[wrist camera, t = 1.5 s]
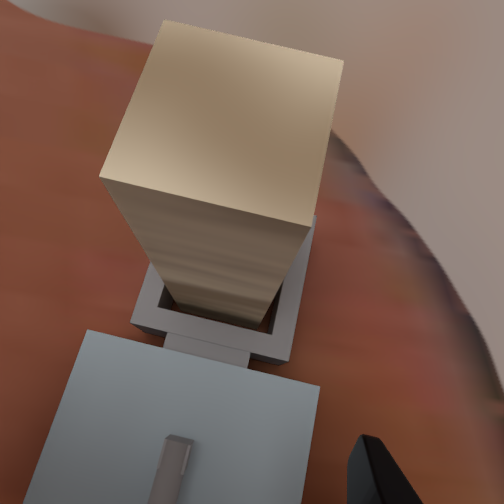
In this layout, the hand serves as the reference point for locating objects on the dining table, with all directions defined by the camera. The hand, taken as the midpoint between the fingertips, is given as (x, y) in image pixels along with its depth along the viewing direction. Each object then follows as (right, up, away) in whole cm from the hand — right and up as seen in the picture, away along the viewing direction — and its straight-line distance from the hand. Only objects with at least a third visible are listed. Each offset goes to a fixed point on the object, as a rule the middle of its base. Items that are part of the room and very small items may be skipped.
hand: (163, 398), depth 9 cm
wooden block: (+1, +1, +14) cm, 14 cm away
